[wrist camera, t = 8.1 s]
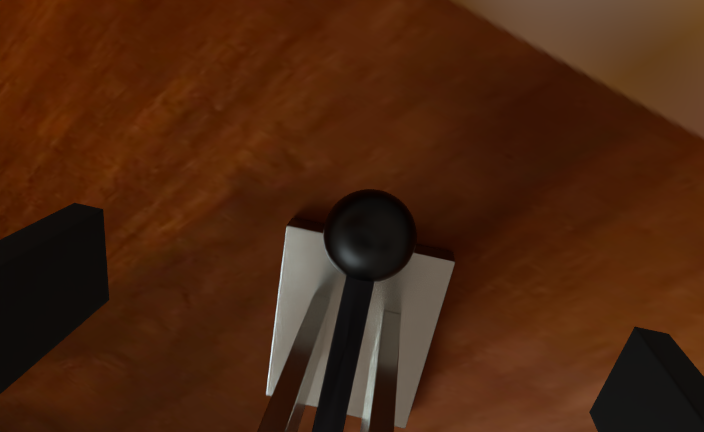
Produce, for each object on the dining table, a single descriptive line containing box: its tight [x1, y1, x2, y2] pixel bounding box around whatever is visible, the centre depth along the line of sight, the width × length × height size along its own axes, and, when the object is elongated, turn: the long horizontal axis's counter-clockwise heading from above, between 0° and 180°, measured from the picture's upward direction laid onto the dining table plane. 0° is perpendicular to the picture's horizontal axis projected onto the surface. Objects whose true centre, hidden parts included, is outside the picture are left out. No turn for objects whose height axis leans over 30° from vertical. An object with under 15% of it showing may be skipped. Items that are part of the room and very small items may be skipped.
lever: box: [312, 189, 417, 432], centre depth 17 cm, size 13×4×4 cm, turn 170°
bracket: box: [257, 218, 455, 432], centre depth 20 cm, size 12×9×13 cm
